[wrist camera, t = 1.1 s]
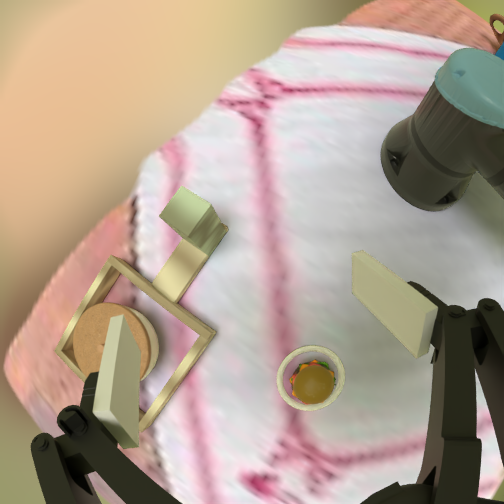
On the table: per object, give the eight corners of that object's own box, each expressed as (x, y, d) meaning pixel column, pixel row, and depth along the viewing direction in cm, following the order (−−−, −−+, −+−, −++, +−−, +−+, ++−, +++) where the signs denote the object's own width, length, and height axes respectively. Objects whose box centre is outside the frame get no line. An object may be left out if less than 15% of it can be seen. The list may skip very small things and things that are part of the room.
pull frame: (170, 191, 44) (142, 156, 33) (269, 256, 41) (267, 234, 31) (67, 349, 40) (20, 354, 30) (150, 425, 38) (116, 452, 27)
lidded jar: (180, 323, 40) (155, 324, 31) (156, 393, 39) (127, 410, 30) (115, 293, 42) (79, 287, 33) (93, 360, 40) (56, 367, 31)
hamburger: (341, 321, 40) (351, 321, 34) (363, 402, 37) (375, 412, 32) (253, 348, 40) (250, 353, 35) (278, 429, 37) (279, 444, 32)
